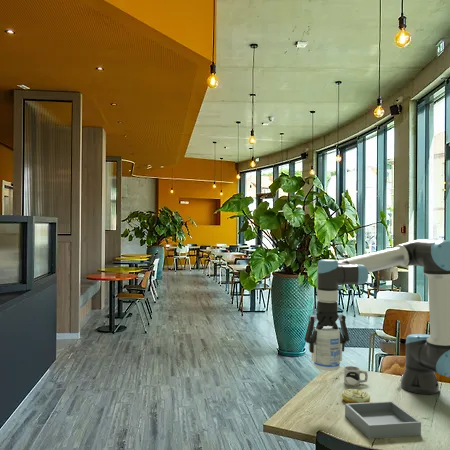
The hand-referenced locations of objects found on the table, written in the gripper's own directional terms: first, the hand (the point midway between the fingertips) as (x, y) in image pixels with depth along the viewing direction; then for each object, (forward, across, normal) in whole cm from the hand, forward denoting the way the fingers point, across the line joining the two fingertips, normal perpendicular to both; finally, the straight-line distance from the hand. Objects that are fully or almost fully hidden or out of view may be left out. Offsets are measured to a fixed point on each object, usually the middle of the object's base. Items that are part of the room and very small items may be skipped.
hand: (326, 360), depth 176 cm
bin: (+19, -15, +14) cm, 28 cm away
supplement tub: (+3, 0, 0) cm, 3 cm away
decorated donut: (+19, -16, -8) cm, 26 cm away
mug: (+19, -25, -27) cm, 41 cm away
